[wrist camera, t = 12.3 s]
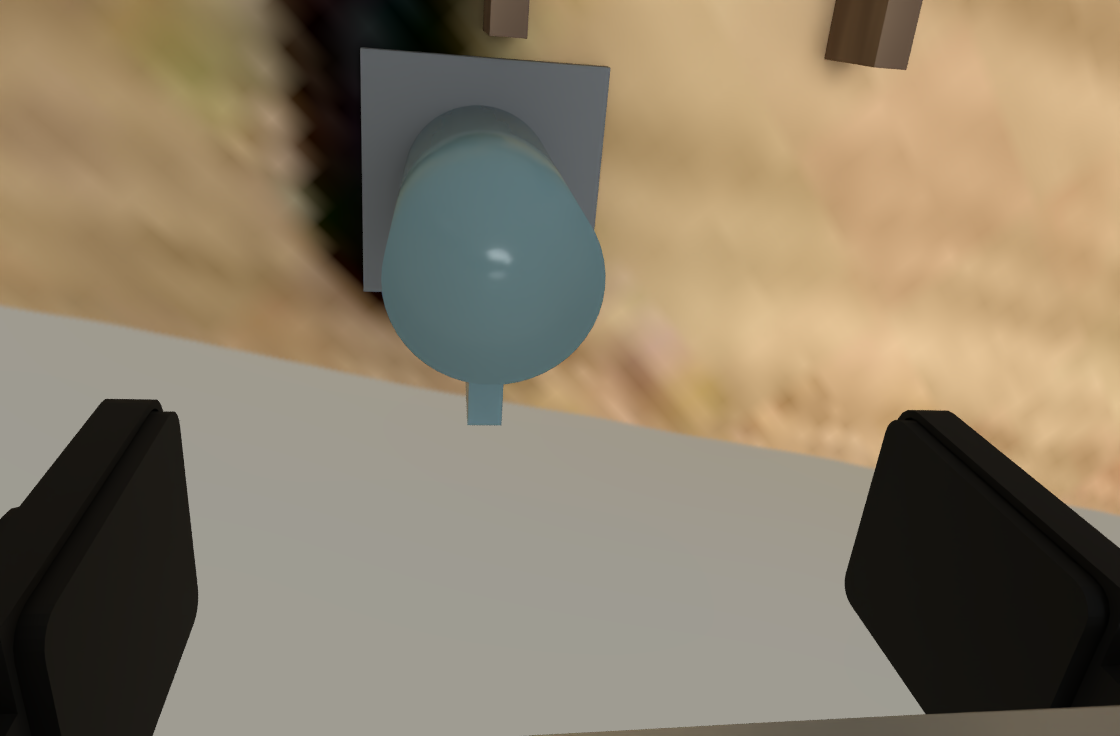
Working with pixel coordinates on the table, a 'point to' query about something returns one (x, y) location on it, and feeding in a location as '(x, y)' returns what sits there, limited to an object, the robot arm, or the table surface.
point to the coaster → (456, 81)
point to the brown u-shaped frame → (855, 37)
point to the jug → (489, 257)
